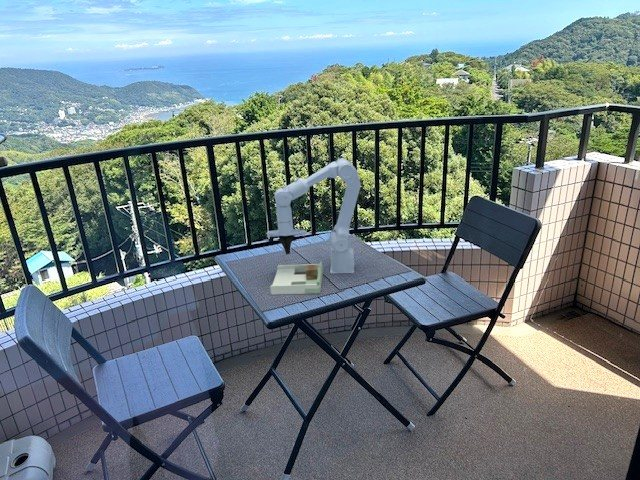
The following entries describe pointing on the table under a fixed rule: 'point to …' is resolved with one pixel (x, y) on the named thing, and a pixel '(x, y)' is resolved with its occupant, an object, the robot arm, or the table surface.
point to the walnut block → (311, 272)
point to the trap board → (296, 280)
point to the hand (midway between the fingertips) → (288, 253)
